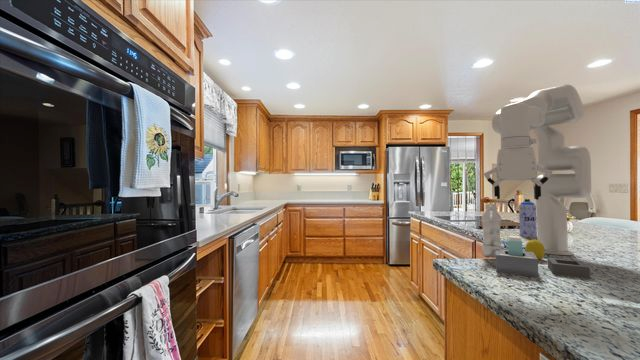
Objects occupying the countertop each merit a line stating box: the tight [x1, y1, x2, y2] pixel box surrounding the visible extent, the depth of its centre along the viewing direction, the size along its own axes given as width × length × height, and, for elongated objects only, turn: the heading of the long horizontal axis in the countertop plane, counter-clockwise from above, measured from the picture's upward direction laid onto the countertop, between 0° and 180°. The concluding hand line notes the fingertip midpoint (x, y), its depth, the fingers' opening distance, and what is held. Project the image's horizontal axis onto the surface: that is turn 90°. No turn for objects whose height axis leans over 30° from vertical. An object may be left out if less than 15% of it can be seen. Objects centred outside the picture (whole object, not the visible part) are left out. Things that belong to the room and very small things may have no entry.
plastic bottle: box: [481, 203, 502, 259], centre depth 103 cm, size 6×7×20 cm
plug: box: [507, 235, 524, 256], centre depth 85 cm, size 4×4×10 cm
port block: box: [495, 248, 539, 278], centre depth 85 cm, size 10×10×6 cm
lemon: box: [524, 238, 546, 261], centre depth 98 cm, size 6×6×8 cm
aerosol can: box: [518, 198, 537, 238], centre depth 150 cm, size 8×8×20 cm
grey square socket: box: [547, 257, 591, 280], centre depth 82 cm, size 8×8×4 cm
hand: (516, 199), depth 86 cm, fingers open, 9 cm apart
